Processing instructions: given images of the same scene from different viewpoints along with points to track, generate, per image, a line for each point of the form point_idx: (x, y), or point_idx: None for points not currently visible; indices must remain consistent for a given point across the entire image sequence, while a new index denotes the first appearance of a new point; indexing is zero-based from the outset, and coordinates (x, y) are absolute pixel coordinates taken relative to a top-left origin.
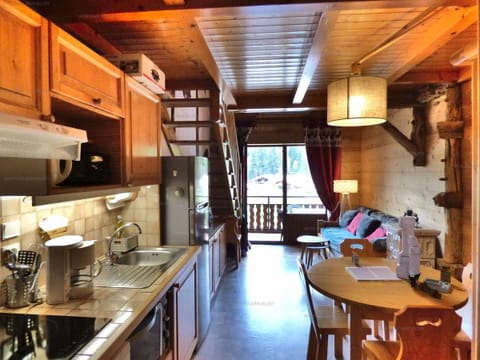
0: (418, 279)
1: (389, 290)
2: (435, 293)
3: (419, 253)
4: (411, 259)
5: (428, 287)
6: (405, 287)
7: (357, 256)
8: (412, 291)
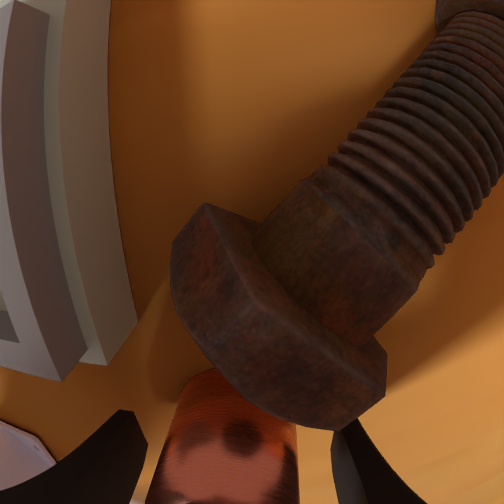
0: (79, 457)
1: (487, 467)
2: None
3: None
4: None
5: (486, 167)
6: None
7: None
8: (455, 372)
